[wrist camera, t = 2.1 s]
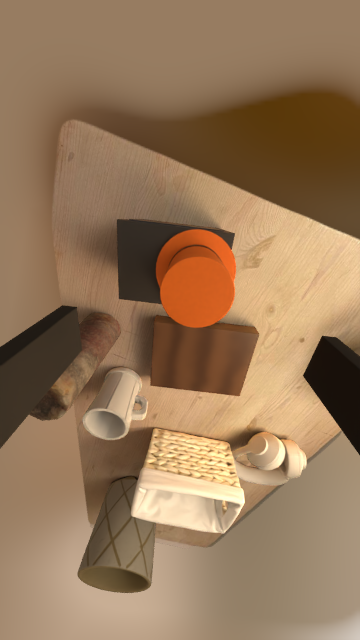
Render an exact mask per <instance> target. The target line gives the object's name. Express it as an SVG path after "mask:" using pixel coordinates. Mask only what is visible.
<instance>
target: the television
mask: <svg viewBox="0 0 360 640" xmlns="http://www.w3.org/2000/svg"><path fill="white" fill-rule="evenodd" d="M193 229H201V230H207V231H210V232H212V233H214V234H216V235H218V236H219V237H221V238H222V239H223V240H224V241H225V242H226V243H227V244H228V246H229V247H230V249H231V250H232V245H233V240H234V236H235V234H234V233H231V232H228V231H225V230H221V229H218V228H211V227H203V226H194V225H186V224H178V223H169V222H161V221H153V220H144V219H129V220H128V219H117V241H118V282H119V299H124V300H132V301H141V302H149V303H158V304H162V303H161V298H160V287H159V284H158V281H157V277H156V263H157V259H158V256H159V254H160V252H161V250H162V248H163V247H164V245H165V244H166V243H167V242H168V241H169V240H170V239H171V238H172V237H174V236H175V235H177V234H179V233H181V232H184V231H187V230H193Z"/></svg>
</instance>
